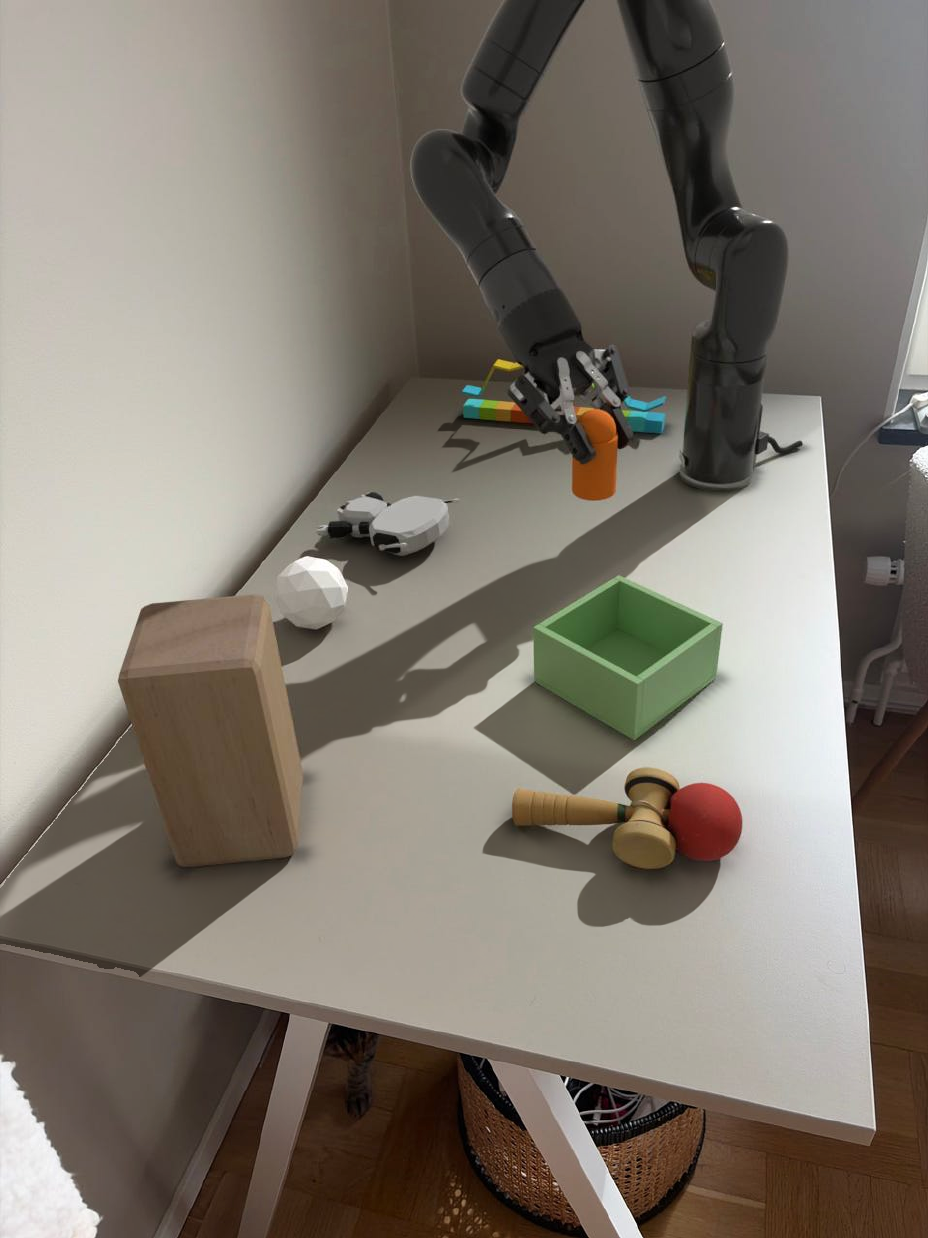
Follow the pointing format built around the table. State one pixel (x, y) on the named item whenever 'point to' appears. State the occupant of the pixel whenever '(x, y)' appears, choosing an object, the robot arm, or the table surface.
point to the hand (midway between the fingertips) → (608, 451)
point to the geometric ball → (311, 592)
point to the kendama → (646, 818)
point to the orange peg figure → (597, 458)
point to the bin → (626, 655)
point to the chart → (514, 414)
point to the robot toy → (391, 522)
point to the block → (215, 728)
